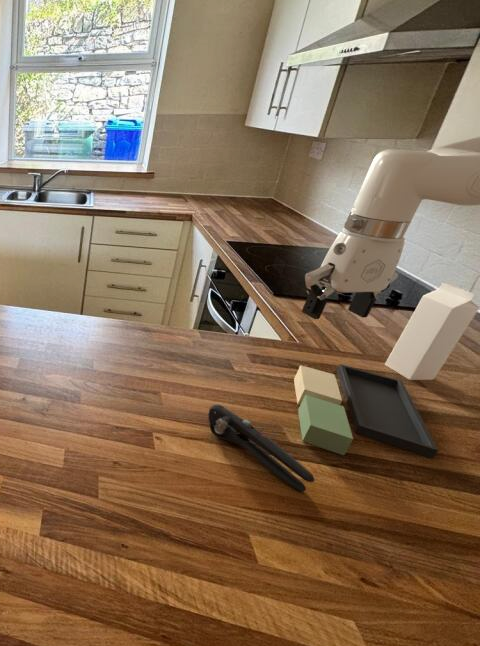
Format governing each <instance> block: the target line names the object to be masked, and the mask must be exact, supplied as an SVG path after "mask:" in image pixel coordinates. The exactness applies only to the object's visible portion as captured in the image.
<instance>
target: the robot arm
mask: <svg viewBox="0 0 480 646" xmlns="http://www.w3.org/2000/svg"><path fill="white" fill-rule="evenodd" d="M424 200H429V201H435V202H441V203H444V204H445V203H446V204H450V205H451V204H452V205H456V206H466V207H467V206H468V207H469V206H480V136H477V137H476V136H475V137H471V138H467V139H465V140H460V141H456V142H452V143H449V144H445V145H440V146H437V147H435V148H432V149H430V150H427V151H425V150H416V149H415V150H414V149H401V148H400V149H397V148H393V149H385V150H384V149H383V150H382V151H379V152H378V153H376V155H375V156H374V158H373V160H372V162H371V163H370V166H369V168H368V170H367V173H366V176H365V178H364V180H363V182H362V185H361V187H360V189H359V192H358V193H357V196H356V199H355V201H354V203H353V205H352V208H351V210H350V212H349V215H348V217H347V219H346V221H345V222H344V226H343V229H342V231H340V232H339V234H338V235H337V236H336V238H335V240H334V241H333V243H332V244H331V246H330V247H329V249H328V251H327V253H326V255H325V257H324V259H323V261H322V263H321V265H320V267H319V268H317V269H314V270H312V271H309V272H307V273H306V274H305V275H304V281H305V282H304V283H305V285H304V287H305V290H306V294H307V297H306V300H305V302H304V304H303V307H302V309H301V312H302V313H303V314H305V315H307V316H308V317H310V318H311V319H314V320H319V319H320V318H321V317H322V314H323V312H324V310H325V308H326V306H327V303H328V300H327V299H326V298H328V297H329V296H330V295H332V294H333V293H334V292H335V291H337V292H338V293H342V294H344V293H345V294H349V293H350V294H351V293H352V294H353V293H354V296H353V298H352V300H351V302H350V304H349V306H348V307H347V310H348V311H349V312H350V313H353V314H354V315H357V316H358V317H361V318H368V316H369V314H370V313H371V311H372V308H373V306H374V304H375V302H376V301H377V299H379V298H381V297H382V293H383V292H385V291H386V290H388V289H389V288H390V286H391V285H392V283H393V282H394V281H395V280H397V278H398V277H399V273H398V272H396V269H397V267H398V264H399V262H400V259H401V257H402V253H403V250H404V246H405V240H406V239H405V237H404V236H405V234H406V232H407V230H408V229H409V226H410V224H412V223H411V222H412V220H413V218H414V216H415V215H416V212H417V210H418V209H419V206H420V205H421V203H422V201H424ZM323 287H324V288H325V289H323V290H322V289H321V288H323Z"/></svg>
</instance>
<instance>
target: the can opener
mask: <svg viewBox="0 0 480 646" xmlns="http://www.w3.org/2000/svg"><path fill="white" fill-rule="evenodd" d="M207 413H208V415H207V416H208V417H207V418H208V422H209V429H210V431H211V433H212V435H214V436H215V437H216V438H218V439H220V440H221V439H222V440H224V441H228V442H231V443H234V444H236V445H238V446H240V447H242V448H243V449H244V450H245V451H247V452H248V453H249V454H251V456H252V457H254V458H255V459H256V460H258V462H259V463H261V464H262V465H263V466H264V467H265V468H266V469H268V471H270V472H271V474H274V476H276V477H277V478H278V479H280V480H281V481H282V482H284V483H285V484H287V485H288V486H290V487H291V488H293V490H296V491H297V492H306V490H307V487H306V485H305V484H304V483H303V482H302V481H301V480H300V479H298V477H300V478H301V479H302V480H304V481H305V482H308V483H314V482H315V478H314V476H313V475H314V474H312V472H310V471H309V470H308V469H307V468H306V467H305V466H304V465H302V464H301V463H300V462H299V461H298V460H297V459H295V458H294V457H293V456H292V455H291V454H289V453H288V452H287V451H286V450H285V449H283V448H282V447H281V446H280V445H278V444H277V443H276V442H275V441H273V440H272V439H271V438H269V437H268V436H267V435H266V434H264V433H263V432H261V431H260V430H259V429H257V428H256V427H254V426H253V425H252V424H253V423H252V422H251V421H249V420H247V419H243V418H242V417H240V416H238V415H237V414H236V413H234V412H232V411H231V410H230V409H228V408H226V407H225V406H223V405H221V404H213V405H212V406H210V407H209V410H208V412H207ZM277 460H278V461H277ZM279 462H280V463H279ZM282 464H283V465H284V466H283V465H282ZM286 467H287V468H288V469H289V470H291V471H292V472H293V473H295V474H296V475H297V476H298V477H297V476H295V475H294V474H293V473H292V472H291V471H289V470H288V469H287V468H286Z"/></svg>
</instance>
